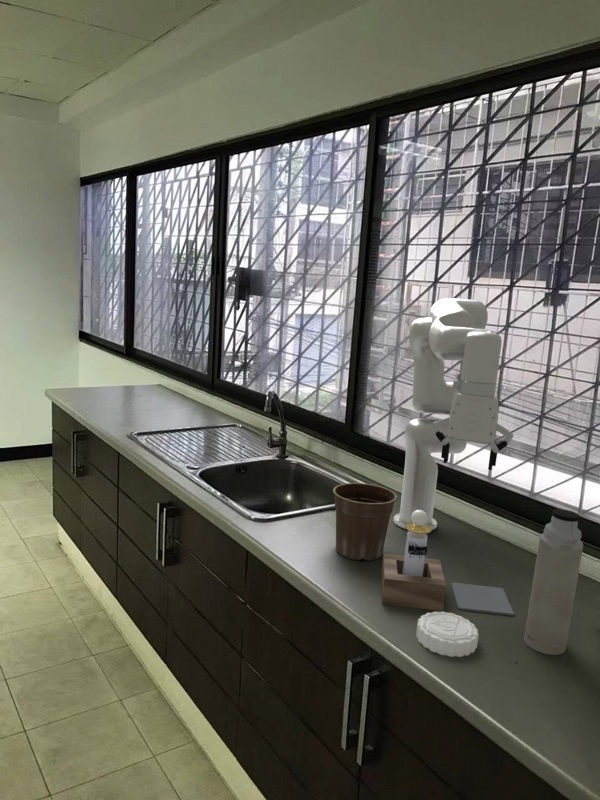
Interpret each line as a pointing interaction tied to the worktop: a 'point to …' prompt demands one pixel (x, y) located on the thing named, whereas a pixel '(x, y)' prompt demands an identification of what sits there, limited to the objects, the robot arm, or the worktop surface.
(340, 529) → the plant pot
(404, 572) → the perfume bottle
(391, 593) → the frame
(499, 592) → the mat
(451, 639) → the mooncake
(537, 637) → the thermos bottle
